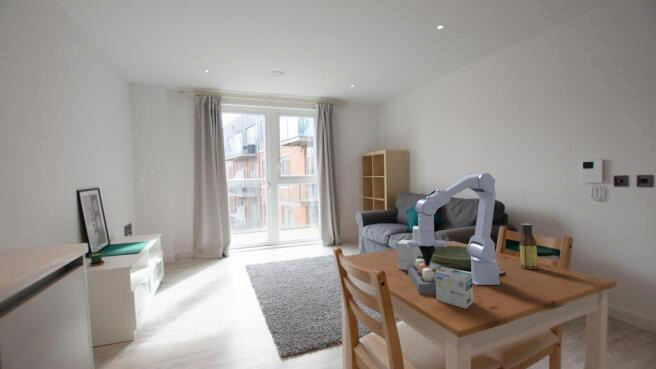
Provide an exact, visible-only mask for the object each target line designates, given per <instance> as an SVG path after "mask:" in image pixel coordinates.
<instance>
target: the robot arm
mask: <svg viewBox="0 0 656 369" xmlns="http://www.w3.org/2000/svg"><path fill="white" fill-rule="evenodd" d="M495 186H496V179H495V178H494V176H493V175H491V173H488V172H484V173H474V172H470V173H467V174H466V175H464V176H462V178H461V179H459V180H458V181H455V183H453V184H452V185H450V186H449V187H447V188H446V189H443V188H440V189H439V188H438V189H435V192H433V193H432V194H430V195H426V197H425V199H424V198H423V199H419V200H417V202H416V203H415V204H416V205H415V206H414V210H415V212H416V213H417V217H418V218H417V219H418V220H417V221H418V224H417V226H418V229H419V241H414V240H411V242H407V247H408V248H411V247H419V249H420V251H421V253H422V255H423V257H422V259H424V262H425V265H426V266H429V267H430V266H431V265H430V264H431V260H432V258H433V256H434V253H435V251H436V247H444V248H446V247H448V246H447V241H446V240H435V223H434V222H435V220H434V219H435V218H434V215H435V214H436V213H437V211H438V210H439V209H440V208H441V207H443V206H445V205H446V204H448V203H449V202H450V201H451V198H452V197H453V196H456V195H458V193H459V194H460V193H461V192H462V191H465V190H466V189H469V190H471V191H473V192H475V193H476V194H477V196H478V197H479V201H478V207H477V208H478V209H477V214H476V224H475V231H474V235H472V236H471V237H470V239H469V242H468V244H467V246H466V252H467V254H468V255H469V258H470V261H471V262H470V264H471V267H470V268H471V269H470V270H471V271H470V272H472V277H473V285H476V286H483V285H484V286H486V285H490V286H492V285H501V283H500V267H499V263H498V262H497V260H496V259H495V258H496V249H495V248H496V247H495V246H496V243H495V242H494V240H493V239H492V237H491V232H492V225H493V218H494V211H495V210H494V209H495V202H496V197H497V193H496V192H497V191H496V189H495Z"/></svg>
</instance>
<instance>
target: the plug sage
mask: <svg viewBox="0 0 656 369" xmlns="http://www.w3.org/2000/svg"><path fill="white" fill-rule="evenodd" d="M420 263H425V262H424V258H417V259H416V271H419V264H420Z"/></svg>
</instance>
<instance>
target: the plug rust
mask: <svg viewBox="0 0 656 369" xmlns="http://www.w3.org/2000/svg"><path fill="white" fill-rule="evenodd" d="M429 267H430V266H426V265H425V263H420V264H419V276H423V275H422V269H423V268H429Z"/></svg>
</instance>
